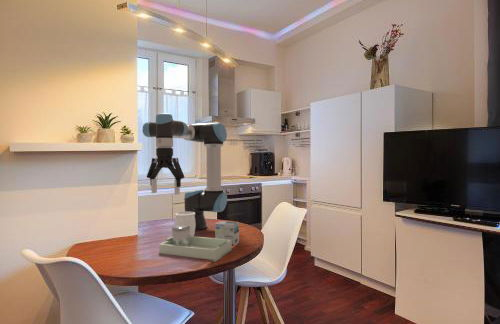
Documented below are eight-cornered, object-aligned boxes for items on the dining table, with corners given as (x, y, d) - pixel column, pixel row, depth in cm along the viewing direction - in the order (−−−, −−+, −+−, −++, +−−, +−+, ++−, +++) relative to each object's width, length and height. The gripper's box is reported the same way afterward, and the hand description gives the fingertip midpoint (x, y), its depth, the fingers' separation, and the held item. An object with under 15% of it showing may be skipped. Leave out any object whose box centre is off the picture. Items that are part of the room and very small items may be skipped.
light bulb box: (239, 242, 158) (239, 221, 158) (234, 246, 152) (234, 224, 152) (220, 241, 162) (220, 220, 162) (214, 244, 156) (214, 223, 155)
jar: (191, 245, 155) (190, 215, 155) (171, 244, 157) (171, 214, 157) (198, 239, 165) (198, 211, 165) (180, 238, 167) (180, 211, 167)
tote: (180, 245, 155) (180, 233, 155) (232, 250, 145) (231, 237, 145) (158, 255, 140) (158, 241, 139) (215, 262, 129) (214, 247, 129)
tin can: (178, 245, 150) (178, 225, 150) (193, 247, 148) (193, 226, 147) (168, 250, 143) (168, 228, 143) (183, 252, 140) (183, 230, 140)
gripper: (138, 148, 145) (139, 193, 146) (181, 146, 134) (182, 195, 135) (150, 148, 152) (150, 191, 152) (191, 147, 141) (192, 193, 141)
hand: (165, 193), depth 143 cm, fingers open, 13 cm apart
